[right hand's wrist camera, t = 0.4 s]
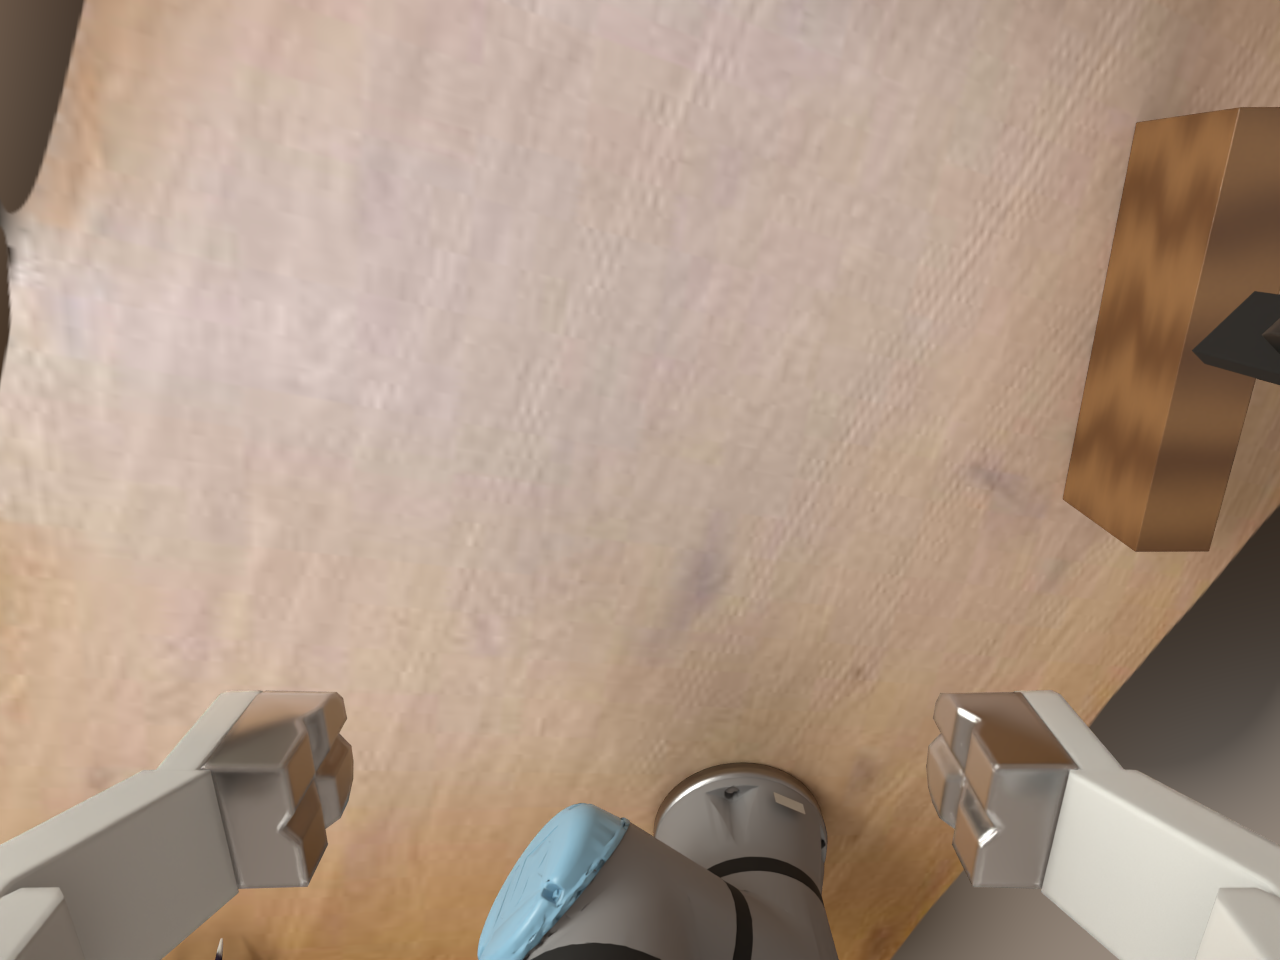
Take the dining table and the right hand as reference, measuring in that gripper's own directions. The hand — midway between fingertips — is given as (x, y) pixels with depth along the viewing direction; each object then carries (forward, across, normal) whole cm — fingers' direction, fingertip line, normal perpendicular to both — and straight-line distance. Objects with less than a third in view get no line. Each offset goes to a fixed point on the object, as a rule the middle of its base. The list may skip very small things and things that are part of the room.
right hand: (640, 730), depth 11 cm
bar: (+46, -35, +2) cm, 58 cm away
